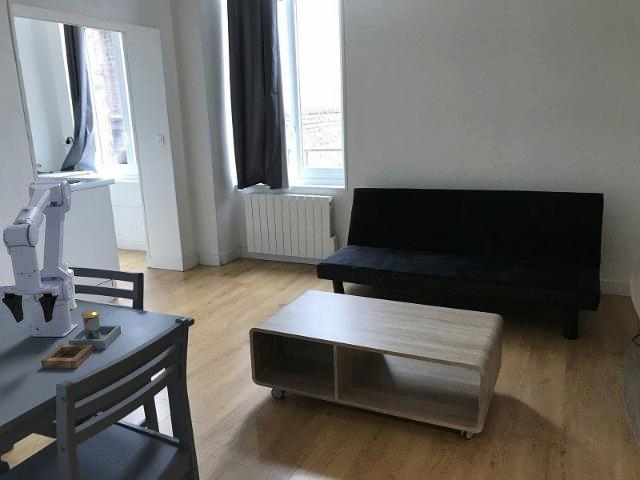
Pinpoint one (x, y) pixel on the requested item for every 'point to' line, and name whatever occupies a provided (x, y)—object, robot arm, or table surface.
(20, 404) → the table surface
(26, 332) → the table surface
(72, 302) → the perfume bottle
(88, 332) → the jar with gold lid
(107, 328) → the tray
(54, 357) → the socket block
